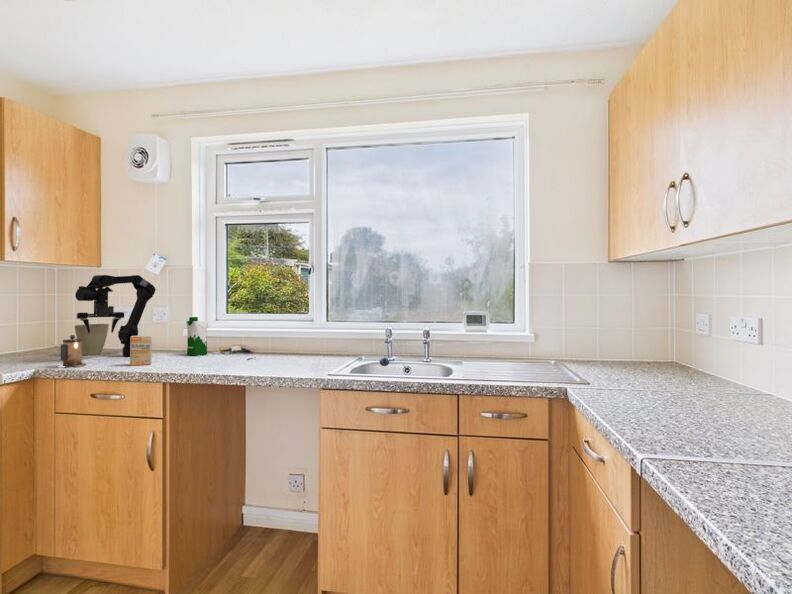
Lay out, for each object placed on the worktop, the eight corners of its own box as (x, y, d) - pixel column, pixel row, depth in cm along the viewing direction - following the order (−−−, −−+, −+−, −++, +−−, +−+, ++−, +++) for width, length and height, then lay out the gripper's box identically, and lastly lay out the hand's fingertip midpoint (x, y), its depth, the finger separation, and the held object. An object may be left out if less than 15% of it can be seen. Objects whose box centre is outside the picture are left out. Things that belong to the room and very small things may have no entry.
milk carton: (184, 355, 227) (184, 317, 227) (200, 353, 235) (200, 316, 235) (194, 356, 222) (194, 317, 222) (210, 354, 230) (210, 316, 230)
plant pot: (67, 356, 226) (67, 325, 226) (97, 352, 240) (96, 323, 240) (86, 357, 221) (86, 326, 221) (115, 353, 234) (115, 324, 234)
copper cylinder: (72, 363, 196) (72, 334, 196) (85, 363, 195) (85, 334, 195) (55, 366, 188) (55, 335, 188) (68, 366, 187) (68, 336, 187)
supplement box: (129, 366, 192) (129, 336, 192) (131, 364, 196) (131, 335, 196) (151, 364, 196) (151, 335, 196) (152, 363, 200) (151, 335, 200)
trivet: (84, 363, 199) (84, 362, 199) (87, 366, 192) (87, 365, 192) (57, 366, 193) (57, 364, 193) (58, 368, 185) (58, 367, 185)
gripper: (78, 300, 198) (78, 335, 198) (126, 301, 210) (126, 333, 210) (76, 300, 207) (76, 333, 207) (122, 301, 219) (122, 332, 219)
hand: (100, 333), depth 210 cm, fingers open, 9 cm apart
